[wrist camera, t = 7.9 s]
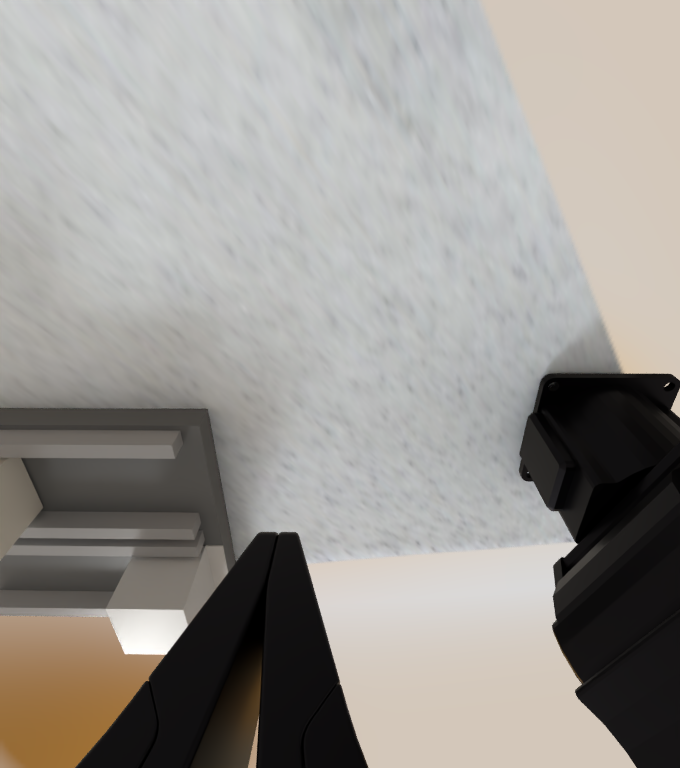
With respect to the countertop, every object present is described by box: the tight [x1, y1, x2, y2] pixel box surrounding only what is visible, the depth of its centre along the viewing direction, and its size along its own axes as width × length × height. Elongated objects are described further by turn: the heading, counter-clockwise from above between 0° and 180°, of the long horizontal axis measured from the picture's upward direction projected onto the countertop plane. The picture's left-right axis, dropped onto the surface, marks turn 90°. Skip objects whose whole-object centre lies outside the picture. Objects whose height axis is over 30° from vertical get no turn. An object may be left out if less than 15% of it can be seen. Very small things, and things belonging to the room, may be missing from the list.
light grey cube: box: [106, 546, 215, 654], centre depth 26 cm, size 4×4×4 cm
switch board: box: [0, 408, 236, 617], centre depth 26 cm, size 16×14×3 cm
